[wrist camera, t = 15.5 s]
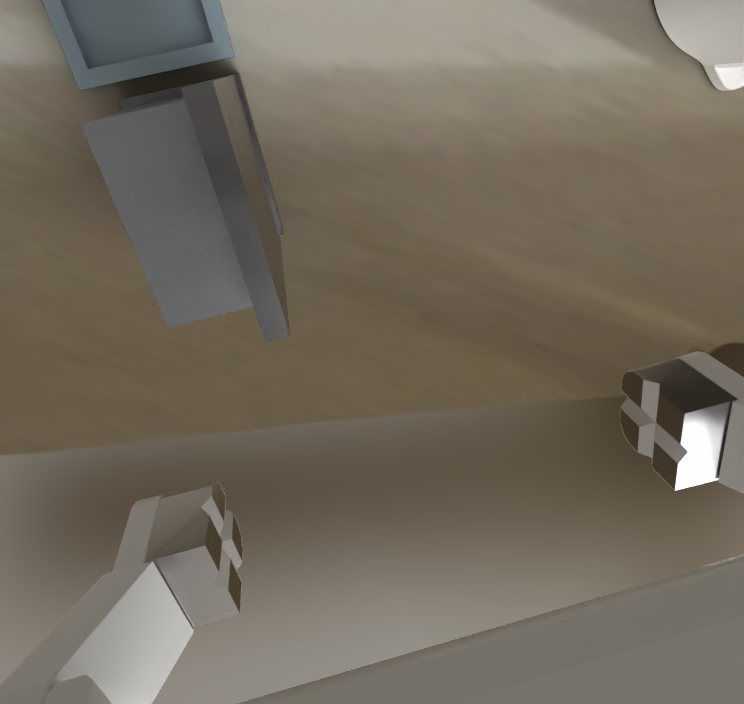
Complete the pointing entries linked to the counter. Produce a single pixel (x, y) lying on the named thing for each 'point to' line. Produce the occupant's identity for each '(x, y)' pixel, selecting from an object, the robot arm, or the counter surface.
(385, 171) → the counter surface
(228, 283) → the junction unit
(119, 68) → the tray
